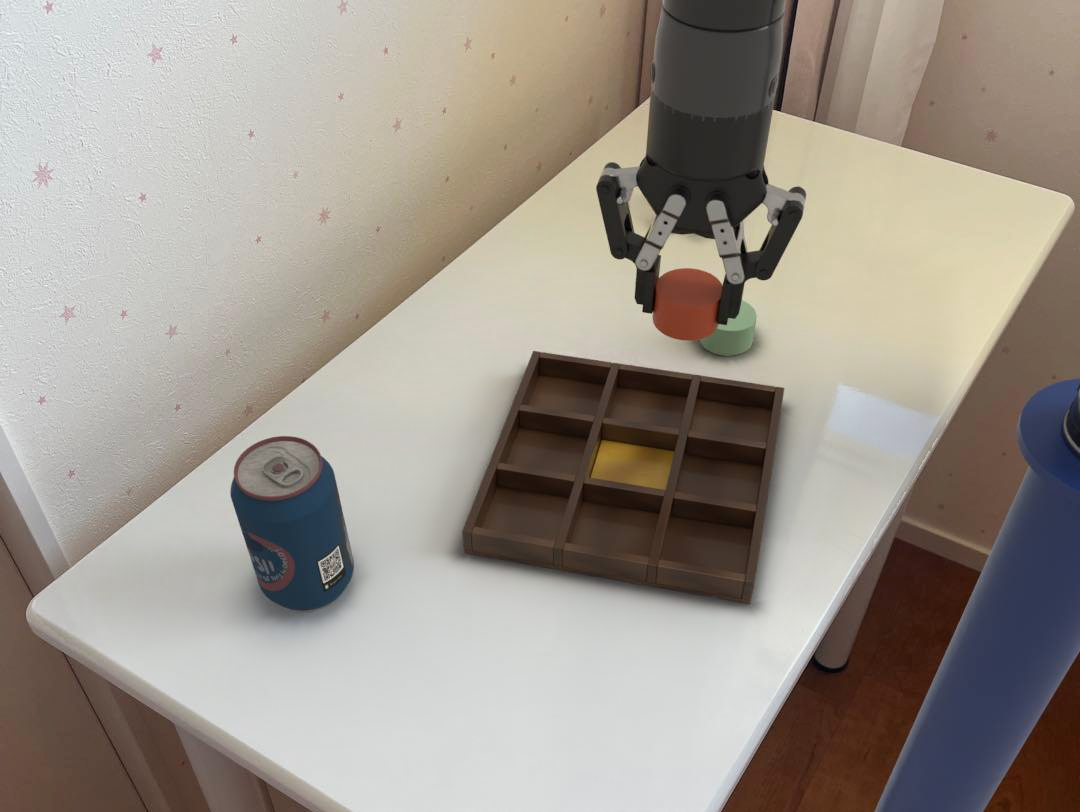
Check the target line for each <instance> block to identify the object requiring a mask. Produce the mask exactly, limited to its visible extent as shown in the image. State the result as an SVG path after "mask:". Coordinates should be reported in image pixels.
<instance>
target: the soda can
mask: <svg viewBox="0 0 1080 812" xmlns="http://www.w3.org/2000/svg"><path fill="white" fill-rule="evenodd" d="M229 493H230V499H231V502H232V506H233V508H234V511H235V514H236V517H237V521H238V524H239V528H240V530H241V533H242V536H243V540H244V543H245V546H246V549H247V552H248V555H249V558H250V561H251V564H252V567H253V570H254V573H255V577H256V581H257V583H258V586H259V589H260V590H261V592H262V594H263V595H264V596H266V597H267V598H268V599H269V600H270V601H271V602H273V603H274V604H276V605H278V606H280V607H283V608H285V609H287V610H290V611H295V612H313V611H317V610H321V609H323V608H326V607H328V606H329V605H331V604H333V603H334V602H335V601H336V600H337V599H338V598H339V597H340V596H341V595H342V594H343V593H344V591H345V590H346V588H347V587H348V586H349V584H350V582H351V580H352V578H353V575H354V570H355V561H354V556H353V551H352V546H351V543H350V538H349V533H348V529H347V524H346V520H345V516H344V510H343V506H342V502H341V497H340V493H339V489H338V484H337V479H336V475H335V472H334V469H333V467H332V465H331V464H330V463H329V461H328V460H327V459H326V458H325V457H324V456H322V455H321V452H320V450H319V449H318V448H317V447H316V446H315V445H314V444H313V443H311V442H310V441H309V440H306V439H304V438H301V437H299V436H298V437H297V436H292V435H280V436H273V437H268V438H265V439H262V440H260V441H257V442H255V443H253V444H252V445H250V446H249V447H247V448H246V449H245V450H244V451H243V452H242V453H241V454H240V455H239V456H238V458H237V460H236V461H235V464H234V467H233V478H232V481H231V485H230V492H229Z"/></svg>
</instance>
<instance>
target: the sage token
mask: <svg viewBox="0 0 1080 812" xmlns="http://www.w3.org/2000/svg"><path fill="white" fill-rule="evenodd" d="M757 317H758V315H757V311H756V310H755V308H754V307H753V306H752V305H751V304H750V303H748V302H747V301H745V300H742V302H741V307H740V311H739V314H738V316H737V317H736V318H735V319H732V318H728V323H727V325H721V324H719V325H718V327H717V329H716V330H715V332H714V333H712V334H711V335H709V336H707V337H705V338H702V339H698V341H699V343H700V345H701V346H702V347H703V349H705V350H706V351H707V352H710V353H712V354H714V355H718V356H723V357H725V356H726V357H733V356H738V355H741V354H743V353H746V352H747V351H748V350H749V349H750V348H751V347H752V345H753V341H754V336H755V330H756V325H757V319H758V318H757Z"/></svg>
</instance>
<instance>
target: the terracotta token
mask: <svg viewBox="0 0 1080 812" xmlns="http://www.w3.org/2000/svg"><path fill="white" fill-rule="evenodd" d="M722 287H723V283H722V282H721V281H720V279H719V278H718V277H716V276H715V275H713V274H712V273H710V272H708V271H705V270H702V269H699V268H693V267H691V268H690V267H689V268H688V267H683V268H675V269H672V270H669V271H666V272H665V273H663V274H662V275H660V276H659V279H658V280H657V283H656V287H655V297H654V307H653V313H652V323H653V325H654V327H655V328H656V329H657V330H658V331H659V332H660V333H661V334H663V336H666V337H669V338H671V339H674V340H679V341H687V342H688V341H699V339H702V338H705V337H707V336H709V335H711V334H712V333H714V332H715V330H716V329H717V327H718V325H719V324H717V321H718V314H719V307H720V300H721V294H722Z"/></svg>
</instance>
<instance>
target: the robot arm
mask: <svg viewBox="0 0 1080 812" xmlns="http://www.w3.org/2000/svg"><path fill="white" fill-rule="evenodd" d="M786 6H787V0H661V9H660V14H659V20H658V24H657V29H656V33H655V39H654V46H653V59H652V62H651V63H650V72H649V73H650V81H651V84H650V97H649V98H650V99H649V109H648V122H647V134H646V147H645V148H646V150H645V155H644V157H643V158H642V159H641V161H640V163H639V166H630V167H621V166H620V164H618V163H617V162H613V161H611V162H610V161H609V162H608V163H606V164H605V165H604V167H603V169H602V171H601V174H600V176H599V178H598V182H597V184H596V187H595V191H596V194H597V199H598V203H599V208H600V212H601V217H602V221H603V225H604V229H605V230H604V231H605V234H606V238H607V243H608V248H609V252H610V254H611V257H613V258H614V259H616V260H624V259H627V260H629V261H631V262H632V263H633V264H634V266H635V267H636V273H635V274H636V275H635V285H634V286H635V287H634V300H635V304H636V305H640V306H642V311H641V312H642V313H645V314H650V315H653V307H654V297H655V287H656V283H657V280H658V279H659V278H660V272H661V261H662V255H661V254H660V252H661V251H662V250H663V249H664V246H665V245H666V243H667V241H668V239H669V237H670V235H671V234H674V235H675V234H676V235H681V236H683V235H696V236H699V237H702V238H704V239H711V240H714V242H715V245H716V249H717V253H718V256H719V258H720V259H721V261H722V264H723V269H724V272H725V273H724V278H723V281H722V286H723V287H722V294H721V300H720V307H719V314H718V321H717V324H721V325H727V323H728V318H732V319H735V318H736V317H737V316H738V314H739V311H740V307H741V302H742V301H743V295H744V290H745V283H746V282H747V281H748V280H751V279H758V280H760V281H768V280H770V279H771V278H772V276H773V274H774V272H775V271H776V269H777V267H778V265H779V264H780V261H781V259H782V257H783V255H784V253H785V252H786V249H787V247H788V246H789V244H790V241H792V238H793V236H794V234H795V232H796V230H797V228H798V226H799V224H800V222H801V221H802V219H803V215H804V209H805V204H806V199H807V192H806V190H805V189H804V188H803V187H801V186H793V187H791V188H790V189H789V190H786V189H783V188H781V187H778V186H776V185H773V184H770V183H769V177H768V175H767V172H766V168H765V160H766V155H767V154H766V153H767V147H768V142H769V135H770V129H771V124H772V119H773V118H772V117H773V111H774V107H775V106H774V105H775V99H776V93H777V89H778V86H779V77H780V75H779V74H780V69H781V62H782V57H783V49H784V22H785V21H784V20H785V13H786V12H785V11H786ZM637 187H638V189H639V191H640V192H641V195H643V197H644V199H645V200H646V201H647V203H648V205H649V206H650V207H651V209H652V211H653V212H654V216H653V219H652V221H651V223H650V224H649V225H650V226H649V227H648V229H647V231H646V233H645V235H644V236H642V235H640V234H639V233H637V232H635V227H634V224H633V218H632V215H631V209H630V204H629V202H630V201H631V198H632V196H633V193H634V189H635V188H637ZM762 204H763V205H764V206H765V207H766V209H767V213H766V219H767V221H768V222H769V224H771V226H770V227H769V229H768V231H767V233H766V236H765V238H764V240H763V242H762V243H761V246H760V248H759V249H758V250H752V251H749V250H748V245H747V241H746V237H745V224H744V220H746V218H748V217H749V216H750V215H751V214H752V213H753V212H754V211H755V210H756V209H758V207H760V206H761V205H762ZM1077 391H1078V392H1077V395H1076V397H1075V399H1074V400H1073V402H1072V404H1071V406H1070V409H1069V410H1068V411H1067V413H1066V415H1065V418H1064V420H1063V422H1062V436H1063V439H1064V441H1065V443H1066V444H1067V446H1068V447H1069V449H1070V450H1071V451H1072V452H1073V453H1074V454H1075V455H1076V456H1077V457H1078V458H1079V459H1080V384H1079V386H1078V389H1077Z"/></svg>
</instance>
